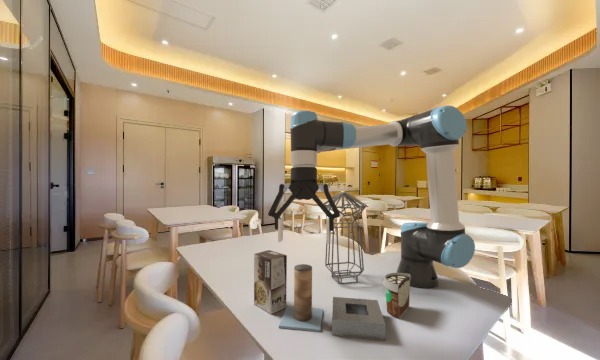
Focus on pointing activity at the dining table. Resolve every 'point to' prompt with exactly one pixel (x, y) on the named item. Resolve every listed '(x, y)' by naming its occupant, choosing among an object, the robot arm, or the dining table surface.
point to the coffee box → (270, 280)
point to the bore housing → (357, 318)
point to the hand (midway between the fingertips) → (303, 241)
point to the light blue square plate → (292, 323)
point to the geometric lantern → (351, 199)
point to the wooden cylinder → (303, 292)
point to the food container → (397, 293)
